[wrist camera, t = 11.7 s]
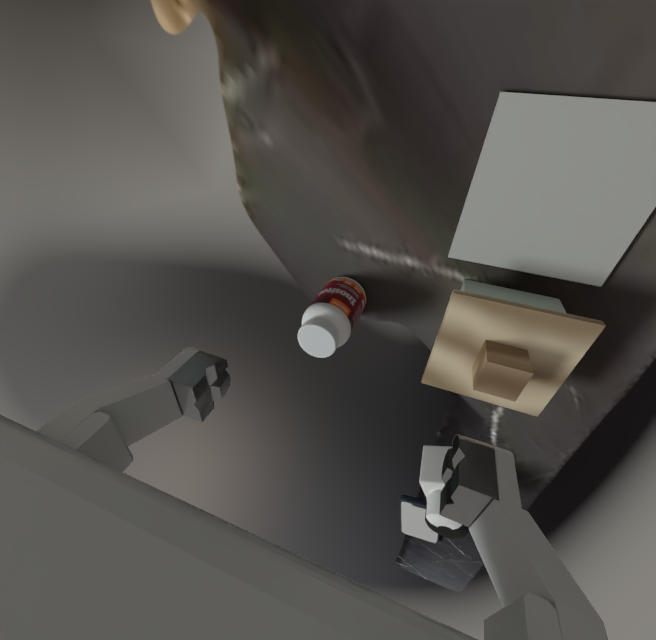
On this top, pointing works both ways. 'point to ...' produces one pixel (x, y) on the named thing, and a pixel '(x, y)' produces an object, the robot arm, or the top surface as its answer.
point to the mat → (560, 186)
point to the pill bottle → (331, 317)
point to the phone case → (415, 519)
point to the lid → (507, 350)
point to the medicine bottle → (437, 492)
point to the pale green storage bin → (512, 295)
